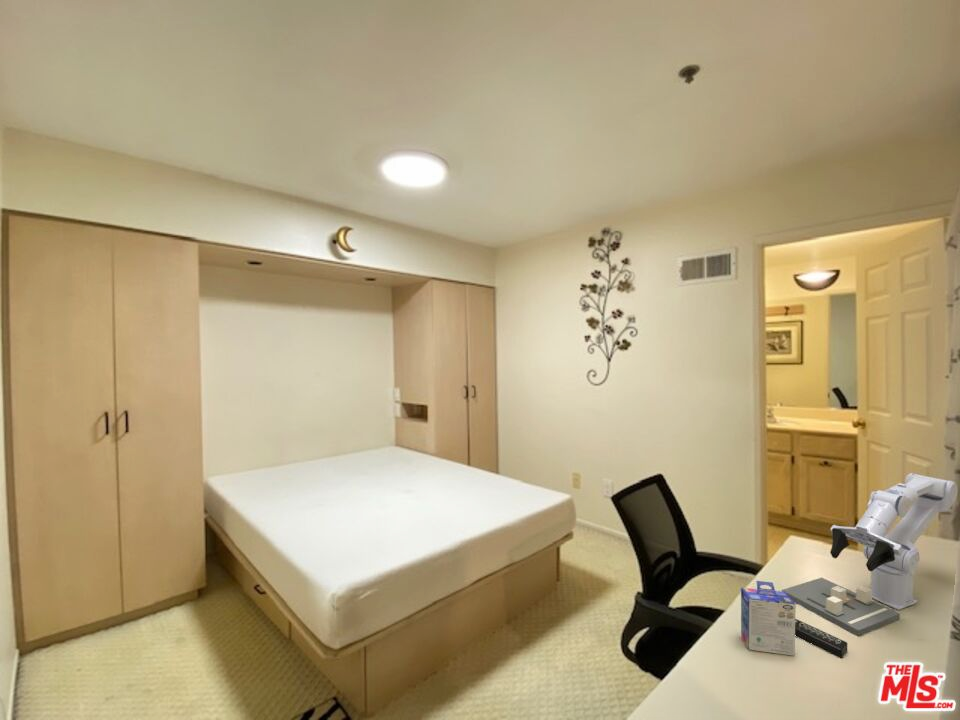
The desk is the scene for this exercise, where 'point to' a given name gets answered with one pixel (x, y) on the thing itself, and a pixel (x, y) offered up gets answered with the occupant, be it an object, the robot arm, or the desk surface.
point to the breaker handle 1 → (834, 605)
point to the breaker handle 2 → (864, 595)
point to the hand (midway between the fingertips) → (850, 561)
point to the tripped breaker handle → (839, 593)
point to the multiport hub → (820, 639)
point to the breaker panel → (855, 612)
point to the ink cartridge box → (768, 620)
